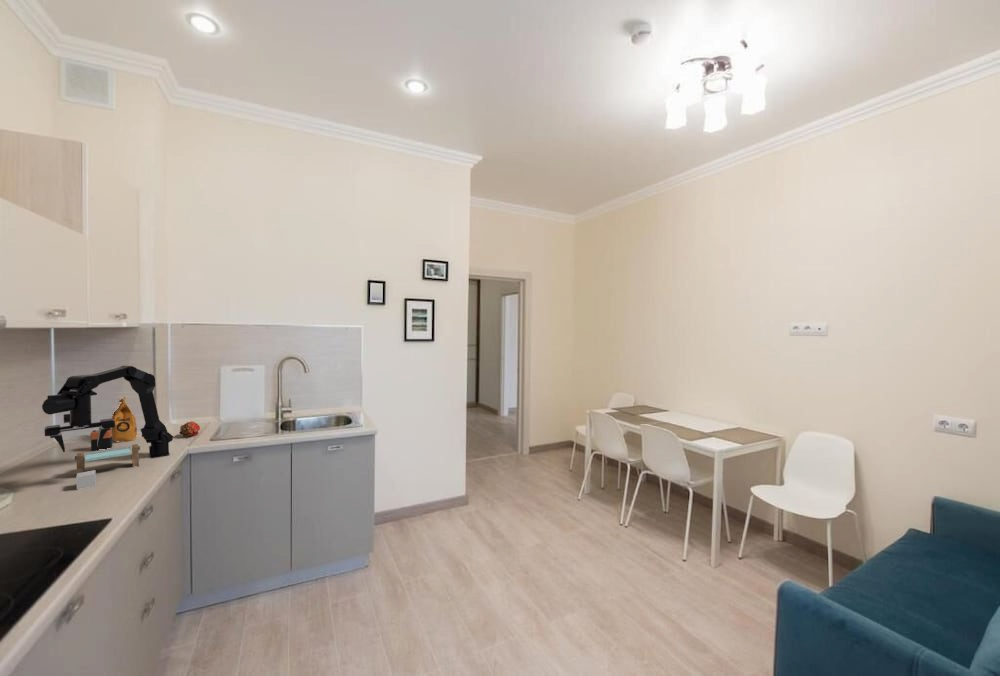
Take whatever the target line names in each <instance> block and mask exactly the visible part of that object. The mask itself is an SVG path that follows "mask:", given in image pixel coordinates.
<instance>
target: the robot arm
mask: <svg viewBox="0 0 1000 676" xmlns="http://www.w3.org/2000/svg"><path fill="white" fill-rule="evenodd" d="M122 378H123V379H124V380H125V381H127V382H128V383H129V384H130V386H131V389H132V390H133V391H134V392H135V393H136V394H137V395H138V397H139V398H138V399H139V402H140V406H141V411H142V414H143V415H142V416H143V419H144V423H145V424H144V426H143V427H141V428H140V433H141V437H142V438H143V439H144V440H145V442H146V444H150V445H149V446H148V450H149V451H148V453H149V457H150V458H151V459H153V458H154V457H155V458H160V457H165V456H170V445H169V443H171V442H172V441H173V440H174V435H172V433H170V432H169V431H168V430H167V427H166V425H165V423H163V422H162V421H161V420H160V416H159V414H158V413H159V412H158V408H157V403H156V400H155V396H154V389H155V387H156V377H155V375H154V374H152V373H148V372H146V371H144V370H141V369H138V368H137V367H136V366H133V365H121V366H119V367H115V368H111V369H107V370H105V371H100V372H96V373H93V374H79V375H70V376H69V377H67V379H66V381H65V382H64V384H63V386H62V387H61V388H60V389H59V390H58V392H57V393H56V394H50V395H47V397H46V398H47V399H45V400H44V401H43V403H42V405H41V409H42V411H43V412H44V414H45V415H55V414H60V413H64V414H63V424H67V423H68V424H69V425H66V426H61V425H60V424H54V425H46V426H45V427H44V429H43V431H44V432H43V433H44V437H50V438H49V439H55V440H56V442H57V443H58V445H59V447H60V449H61V450H62V453H65V452H66V449H65V448H66V447H65V443H64V439H63V435H62V433H64V432H70V431H77V430H85V429H95V428H98V429H99V434H98V441H97V446H98V447H99V446H100V443H101V441H102V439H103V437H104V435H105V434H106V432H107V431H108V430H111V428H113V427H115V421H114V419H112V417H111V418H103V419H100V420H99V421H98V422H92V397H93V396H97V395H98V393H97V392H96V391H94V390H95V389H96V388H98V387H99V386H100V385H101V384H104V383H108V382H111V381H114V380H117V379H122ZM93 389H94V390H93ZM67 412H69V413H67ZM65 413H66V414H65Z"/></svg>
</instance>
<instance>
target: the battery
mask: <svg viewBox="0 0 1000 676" xmlns="http://www.w3.org/2000/svg"><path fill="white" fill-rule="evenodd" d="M98 434H99V428H93V430H92V431H91V432H90V449H91V451H90V452H92V451H93V450H99V449H107V448H111V449H112V447H113V436H112V429H111V430H108V431H107V432H106V434H105V435H104V437H103V439H102V441H101V443H100V446H99V447H98V446H97V441H98Z"/></svg>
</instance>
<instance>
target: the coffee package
mask: <svg viewBox="0 0 1000 676" xmlns="http://www.w3.org/2000/svg"><path fill="white" fill-rule="evenodd" d="M123 397H124V398H123V399H121V400H120V399H118V403H119V402H122V403H121V404H120V406H119V408H118V409H117V410H116V411H115V412H114V414H113V413H112V415H113V416H111V418H112V419H114V421H115V427H113V428H111V429H112V440H113V442H115V443H118V442H117V441H124V442H129V441H128V440H130V441H134V440H133V439H136V437H137V436H138V428H137V427H138V426H137V420H136V416H135V417H134V415H135V414H134V415H133V414H132V412H131V410H130V409H129V407H128V406H127V404H126V403H125V399H126V400H127V398H126V397H125V396H123ZM136 435H137V436H136Z"/></svg>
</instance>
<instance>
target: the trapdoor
mask: <svg viewBox="0 0 1000 676" xmlns="http://www.w3.org/2000/svg"><path fill="white" fill-rule="evenodd" d="M129 455H132V449H131V445H126V446H120V447H114V448H112V447H111V449H105V450H99V451H87V452H85V455H84V462H92V461H99V460H100V461H101V460H104V459H110V458H117V457H122V456H123V457H124V456H129Z"/></svg>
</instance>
